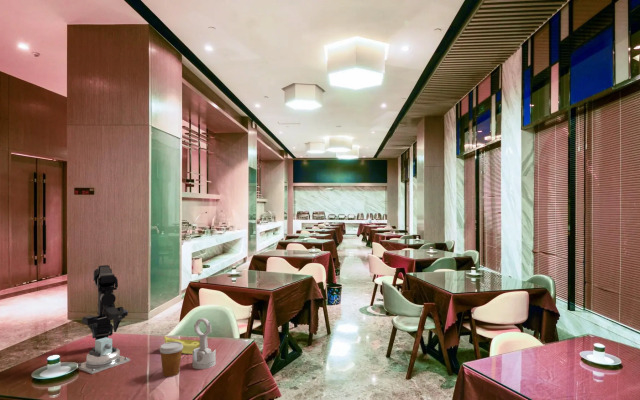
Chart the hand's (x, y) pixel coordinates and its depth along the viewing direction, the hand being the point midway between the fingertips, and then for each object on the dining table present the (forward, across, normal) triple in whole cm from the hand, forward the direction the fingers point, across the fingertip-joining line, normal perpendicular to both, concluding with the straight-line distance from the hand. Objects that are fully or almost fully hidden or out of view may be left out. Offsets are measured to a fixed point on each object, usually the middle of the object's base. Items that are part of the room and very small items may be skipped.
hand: (105, 334), depth 173 cm
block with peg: (+6, -3, -5) cm, 9 cm away
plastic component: (+12, +28, -22) cm, 38 cm away
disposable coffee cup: (+11, +6, -41) cm, 43 cm away
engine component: (+11, +20, -45) cm, 50 cm away
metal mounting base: (+12, -3, -5) cm, 13 cm away
